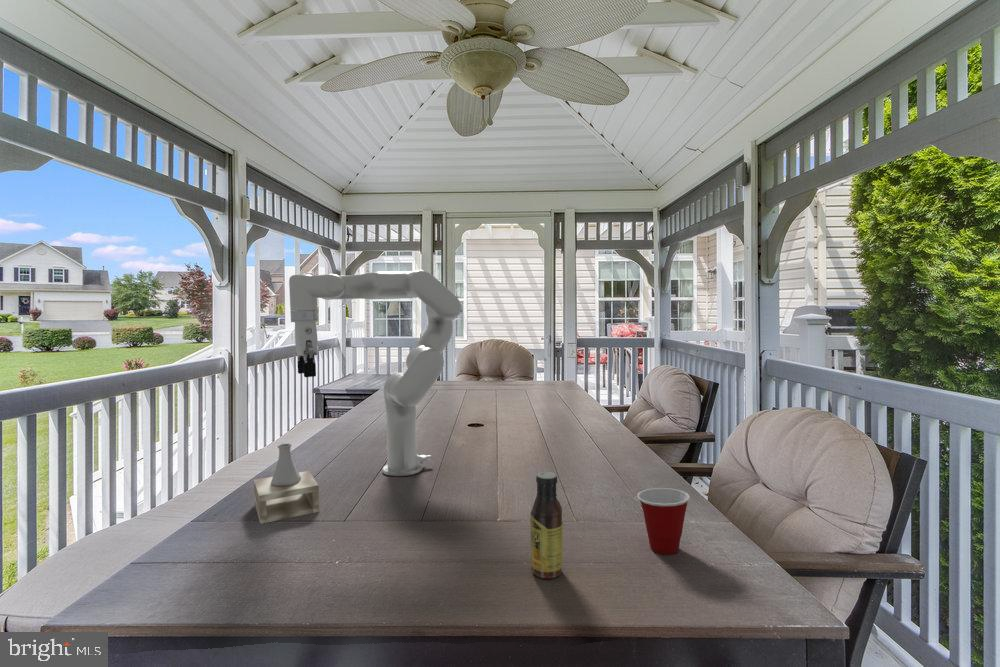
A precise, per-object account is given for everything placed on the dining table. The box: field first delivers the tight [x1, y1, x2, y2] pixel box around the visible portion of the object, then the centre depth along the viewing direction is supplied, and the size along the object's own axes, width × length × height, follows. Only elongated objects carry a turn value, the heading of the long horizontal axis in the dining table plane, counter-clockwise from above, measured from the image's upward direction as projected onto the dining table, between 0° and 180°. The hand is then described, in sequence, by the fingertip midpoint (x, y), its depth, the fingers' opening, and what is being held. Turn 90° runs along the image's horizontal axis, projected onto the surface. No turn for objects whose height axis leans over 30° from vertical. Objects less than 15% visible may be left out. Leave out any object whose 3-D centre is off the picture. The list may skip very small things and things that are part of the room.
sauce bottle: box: [530, 471, 564, 579], centre depth 102 cm, size 7×6×20 cm
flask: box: [271, 443, 301, 486], centre depth 137 cm, size 7×7×10 cm
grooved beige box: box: [253, 470, 320, 525], centre depth 137 cm, size 14×14×7 cm
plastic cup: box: [636, 487, 691, 556], centre depth 111 cm, size 11×11×12 cm
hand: (306, 374), depth 153 cm, fingers open, 9 cm apart
